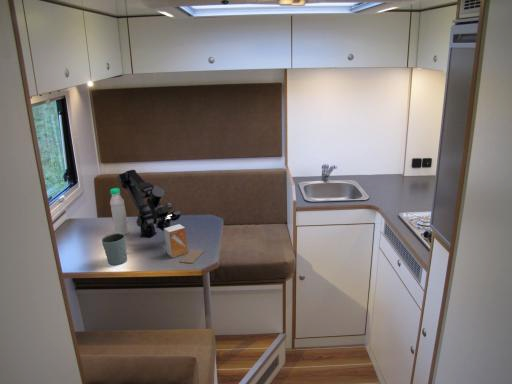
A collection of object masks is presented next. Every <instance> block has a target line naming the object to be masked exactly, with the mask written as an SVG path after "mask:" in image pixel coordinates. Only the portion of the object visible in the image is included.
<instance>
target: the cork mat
mask: <svg viewBox="0 0 512 384" xmlns="http://www.w3.org/2000/svg"><path fill="white" fill-rule="evenodd" d="M203 253H205V250H202V249H190V250H189V251H188V253H186V254H184V256H183V257H182V258H180V260H179V261H178V263H181V264H182V263H183V264H190V265H191V264H194V263H195V262H196V261H197V260H198V259H199V257H200V256H201V255H203Z"/></svg>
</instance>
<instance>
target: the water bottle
mask: <svg viewBox="0 0 512 384" xmlns="http://www.w3.org/2000/svg"><path fill="white" fill-rule="evenodd" d="M109 193H110V195H111V198H110V200H109V201H110V202H109V205H110V209H111V215H112V221H113V227H114V234H116V233H121V234H124V235H125V236H126V235H128V234H129V232H130V228H129V224H128V220H127V213H126V206H125V200H124V199H123V198H122V195H121V190H120V188H118V187H114V188H111V189H110V191H109Z"/></svg>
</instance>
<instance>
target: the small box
mask: <svg viewBox="0 0 512 384" xmlns="http://www.w3.org/2000/svg"><path fill="white" fill-rule="evenodd" d="M163 233H164V240H165V247H166V253H167V255H168V256H169V257H171V258H176V257H179V256H182V255H186V254H187V253H189V250H188V243H187V241H188V240H187V235H186V234H187V233H186V227H185V226H183V225H181V224H180V223H178V224H175V225H174V224H173V225H170V227H167V228H164V231H163Z"/></svg>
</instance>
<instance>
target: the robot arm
mask: <svg viewBox="0 0 512 384" xmlns="http://www.w3.org/2000/svg"><path fill="white" fill-rule="evenodd" d="M116 179H117V180H116V181H117V182H118V184H119V185H120V187H121V188H123V189H124V190H126V191H127V193H128V195H129V197H130V198H131V200H132V203H133V204H134V205H135V207H136V210H137V212H138V213H137V219H136V224H137V225H136V226H138V227H139V228H140V233H141V235H139V237H140V238H148V239H150V238H152V237H154V236H155V235H156V234H157V231H156V229H159V230H160V231H162V232H164V228H167V227H170V226H171V222H174V221H178V220H179V219H180V218H181V216H182V212H181V210H179V209H176V210H173V209H174V208H173V205H172V204H171V202H168V203H165V205H164V204H161V201H162V199H163V197H164V195H165V190H164V189H163V188H162V187H160V186H157V184H155V185H153V184H152V183H150V182H146V181H145V180H144V179H143V178H142V177H141V176H140V174H138V172H137V171H136V169H129V170H126V171H124V173H120V174H118V176H116ZM144 199H146V202H145V201H144ZM171 210H173V211H171ZM169 212H171V213H170V214H169ZM168 214H169V215H168Z"/></svg>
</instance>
